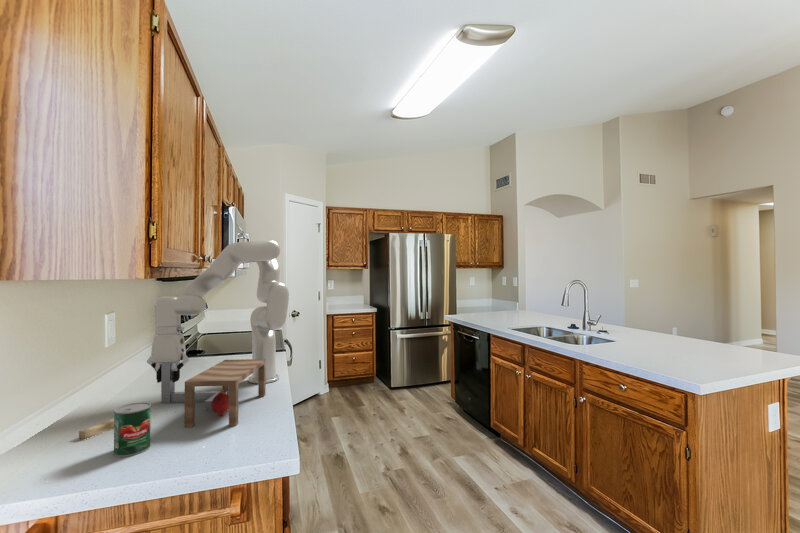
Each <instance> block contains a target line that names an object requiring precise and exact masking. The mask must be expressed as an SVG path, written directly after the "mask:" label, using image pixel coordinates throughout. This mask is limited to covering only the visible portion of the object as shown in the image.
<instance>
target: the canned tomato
mask: <svg viewBox="0 0 800 533" xmlns="http://www.w3.org/2000/svg"><path fill="white" fill-rule="evenodd" d="M151 406H152V403H150V402H146V401H145V402H141V401H140V402H133V403H129V404H123V405H121V406H119V407H116V408H115V409H114V410H113V419H114V429H113V456H115V457H117V458H123V457H124V458H125V457H126V458H127V457H131V456H135V455H139V454H142V453H145V452H146V451H148V450H150V448H151V442H152V440H151V439H152V438H151V434H152V432H151V429H152V428H151V427H152V426H151V423H152V422H151V420H152V419H151V418H152V417H151V415H152V414H151V411H152V407H151Z"/></svg>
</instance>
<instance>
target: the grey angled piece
mask: <svg viewBox="0 0 800 533" xmlns="http://www.w3.org/2000/svg"><path fill="white" fill-rule="evenodd" d="M173 371H174V368H173V364H172V363H162V369H161V382H160V383H161V384H160V385H161V390H160V391H161V394H160V397H161V399H160V400H161V402H160V403H161V404H170V403H185V391H176V389H175V388H176V386H175V385H176V384H175V383H176V382H172V372H173ZM220 391H221V390H220ZM220 391H219V390H213V391H212V390H211V391H206V390H205V391H195V403H202V402H203V403H204V411H213V410H212V407H211V403H212V400H213V399H214V397H215V396H216V395H218V394H219V392H220ZM224 393H225V394H227V391H224Z"/></svg>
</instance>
